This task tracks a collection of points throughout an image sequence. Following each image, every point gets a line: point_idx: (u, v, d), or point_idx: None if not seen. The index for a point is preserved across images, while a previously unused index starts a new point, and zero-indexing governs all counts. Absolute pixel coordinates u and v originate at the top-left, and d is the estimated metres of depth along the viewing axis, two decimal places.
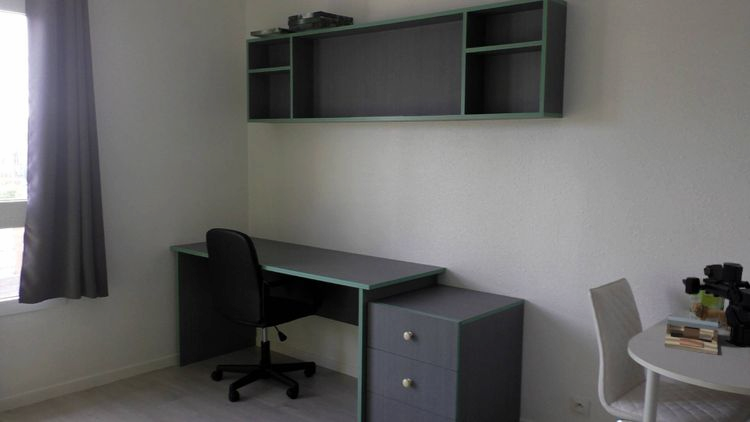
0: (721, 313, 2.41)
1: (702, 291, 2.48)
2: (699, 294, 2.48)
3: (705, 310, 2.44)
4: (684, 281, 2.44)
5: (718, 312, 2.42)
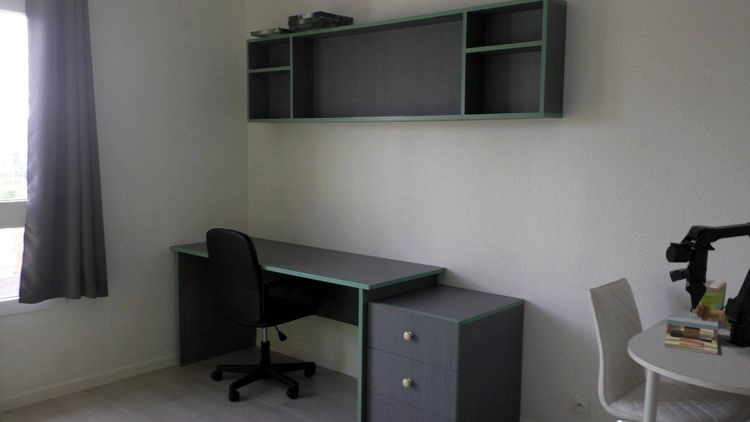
0: (722, 313, 2.41)
1: None
2: None
3: (706, 310, 2.43)
4: (694, 304, 2.18)
5: (719, 312, 2.41)
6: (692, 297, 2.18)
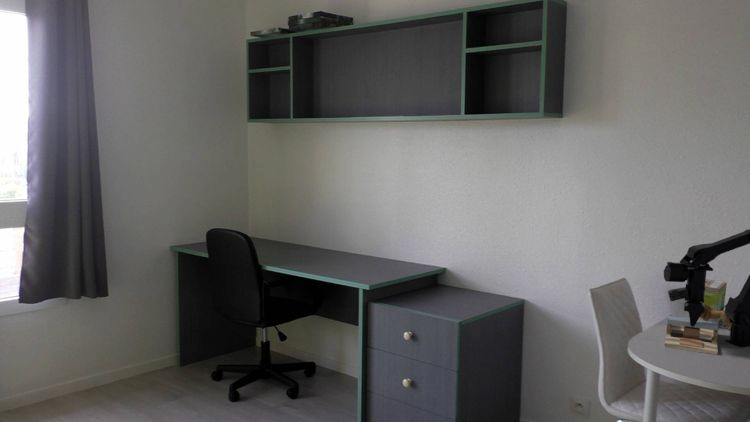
0: (724, 313, 2.40)
1: None
2: None
3: (708, 310, 2.43)
4: (692, 321, 2.24)
5: (721, 312, 2.41)
6: (690, 314, 2.23)
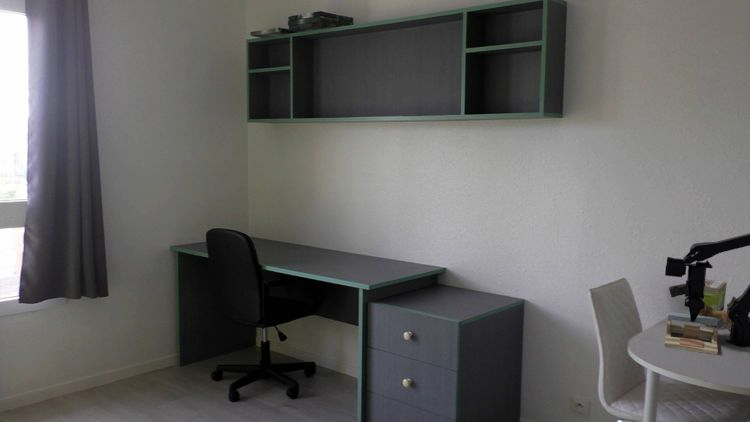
0: (725, 313, 2.40)
1: None
2: None
3: (709, 311, 2.43)
4: (692, 317, 2.29)
5: (722, 312, 2.41)
6: (690, 310, 2.29)
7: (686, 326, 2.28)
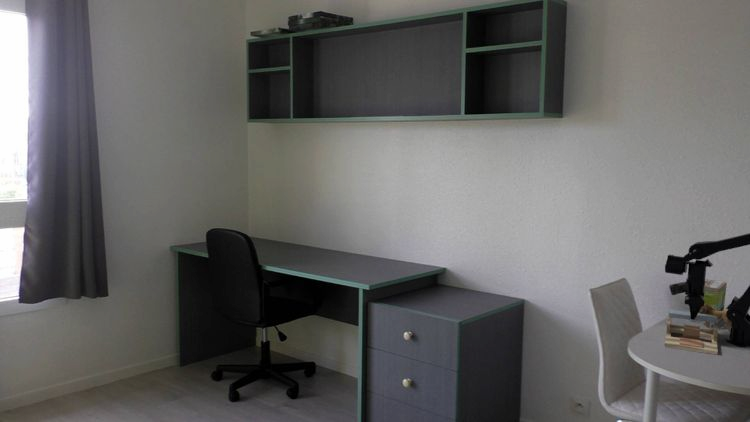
0: None
1: None
2: None
3: (710, 311, 2.43)
4: (692, 314, 2.32)
5: (723, 313, 2.41)
6: (690, 308, 2.32)
7: (686, 326, 2.28)
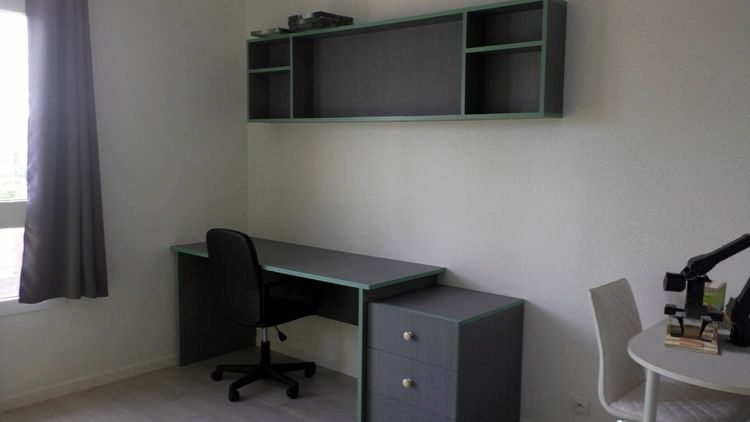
0: None
1: None
2: None
3: None
4: (702, 332, 2.26)
5: None
6: None
7: (686, 326, 2.28)
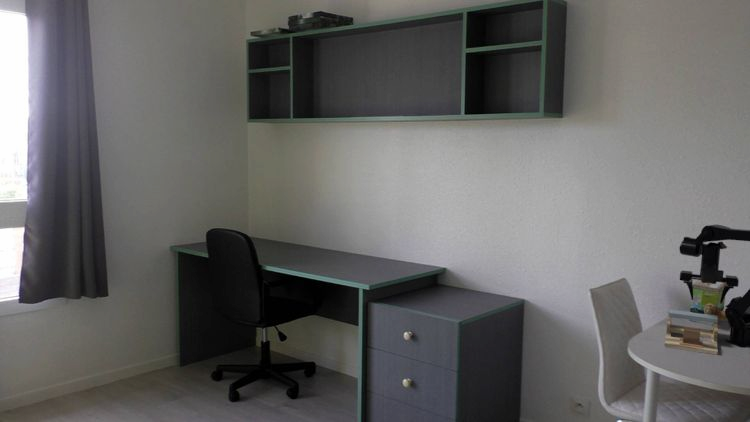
0: None
1: (702, 291, 2.48)
2: (699, 294, 2.48)
3: (718, 312, 2.42)
4: (723, 298, 2.31)
5: None
6: None
7: (686, 328, 2.20)
